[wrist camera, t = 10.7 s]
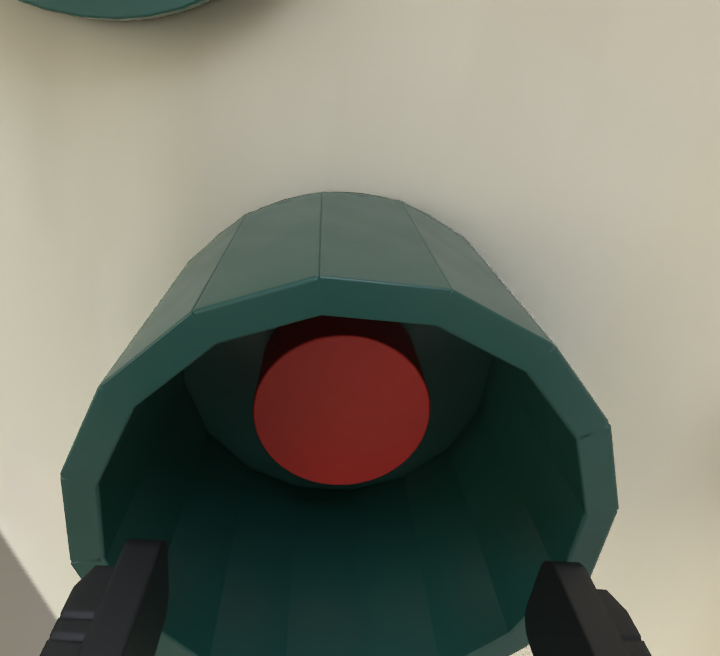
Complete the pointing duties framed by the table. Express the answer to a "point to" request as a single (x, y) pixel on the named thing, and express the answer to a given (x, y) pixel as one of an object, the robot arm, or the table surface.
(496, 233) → the table surface
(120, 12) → the lid
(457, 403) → the tin
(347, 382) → the cylinder
